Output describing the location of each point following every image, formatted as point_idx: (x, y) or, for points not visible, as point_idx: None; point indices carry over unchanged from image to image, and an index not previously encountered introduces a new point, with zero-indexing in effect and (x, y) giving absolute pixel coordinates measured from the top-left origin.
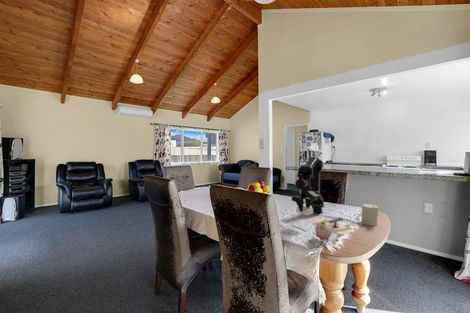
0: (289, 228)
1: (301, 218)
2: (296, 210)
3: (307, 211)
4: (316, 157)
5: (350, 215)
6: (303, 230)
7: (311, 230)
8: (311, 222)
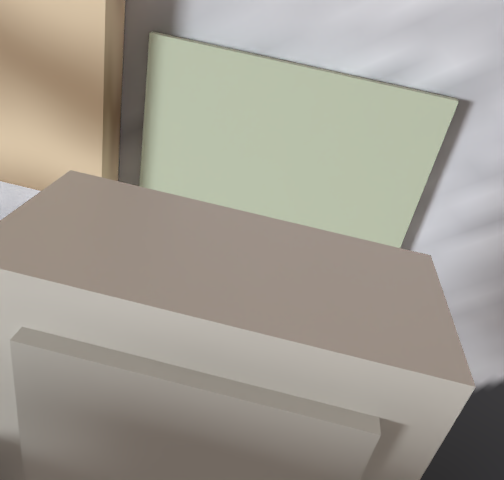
0: (469, 335)
1: None
2: None
3: (445, 350)
4: None
5: None
6: (440, 146)
7: (320, 42)
8: (66, 165)
